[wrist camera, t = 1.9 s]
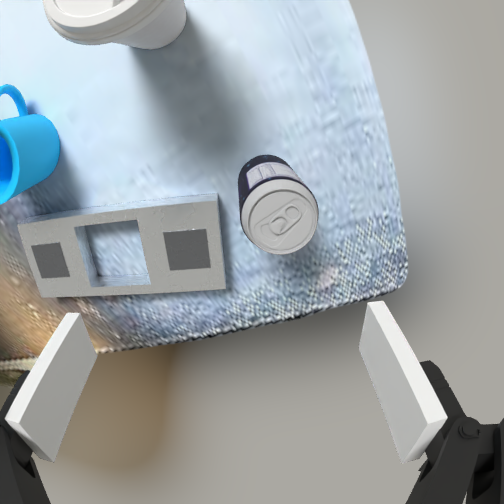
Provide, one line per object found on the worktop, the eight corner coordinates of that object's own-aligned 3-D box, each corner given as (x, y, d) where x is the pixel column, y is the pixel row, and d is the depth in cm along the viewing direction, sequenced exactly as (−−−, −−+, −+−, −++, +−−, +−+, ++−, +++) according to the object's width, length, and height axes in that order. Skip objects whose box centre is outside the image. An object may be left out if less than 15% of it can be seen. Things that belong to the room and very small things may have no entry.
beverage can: (226, 180, 32) (223, 222, 22) (267, 141, 31) (286, 164, 20) (264, 217, 34) (279, 274, 24) (304, 181, 33) (338, 223, 22)
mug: (65, 176, 31) (27, 198, 24) (14, 187, 31) (-26, 211, 23) (53, 73, 26) (10, 71, 18) (0, 93, 25) (-44, 100, 18)
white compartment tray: (49, 287, 37) (41, 297, 35) (27, 217, 32) (16, 225, 30) (225, 277, 37) (225, 289, 35) (217, 193, 33) (216, 200, 31)
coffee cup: (178, 75, 27) (133, 55, 14) (95, 52, 25) (10, 32, 12) (218, -6, 24) (208, -78, 10) (133, -26, 22) (76, -88, 8)
